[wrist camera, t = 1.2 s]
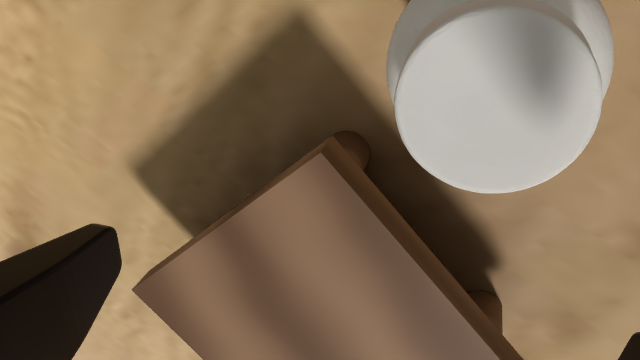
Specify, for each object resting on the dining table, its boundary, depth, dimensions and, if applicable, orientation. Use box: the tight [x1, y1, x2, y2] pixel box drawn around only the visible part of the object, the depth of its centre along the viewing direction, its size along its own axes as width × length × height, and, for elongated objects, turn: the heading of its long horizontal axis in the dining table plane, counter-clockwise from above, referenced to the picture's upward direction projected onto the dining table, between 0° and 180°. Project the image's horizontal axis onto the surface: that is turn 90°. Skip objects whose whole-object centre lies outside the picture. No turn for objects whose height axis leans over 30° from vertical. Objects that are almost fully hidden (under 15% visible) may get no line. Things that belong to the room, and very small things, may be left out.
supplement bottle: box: [387, 0, 614, 193], centre depth 14 cm, size 5×5×10 cm
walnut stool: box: [132, 131, 523, 360], centre depth 24 cm, size 13×13×4 cm
